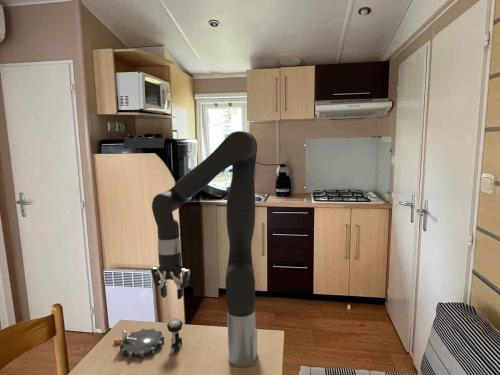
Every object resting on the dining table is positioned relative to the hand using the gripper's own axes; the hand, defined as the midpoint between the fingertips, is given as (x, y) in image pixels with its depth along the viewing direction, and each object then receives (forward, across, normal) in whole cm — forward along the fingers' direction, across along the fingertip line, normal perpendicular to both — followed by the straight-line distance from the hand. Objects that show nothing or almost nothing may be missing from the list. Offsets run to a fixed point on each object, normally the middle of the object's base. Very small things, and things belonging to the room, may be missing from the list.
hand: (172, 297), depth 108 cm
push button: (+20, 0, 0) cm, 20 cm away
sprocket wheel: (+19, -12, 0) cm, 23 cm away
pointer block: (+19, -23, 0) cm, 30 cm away
